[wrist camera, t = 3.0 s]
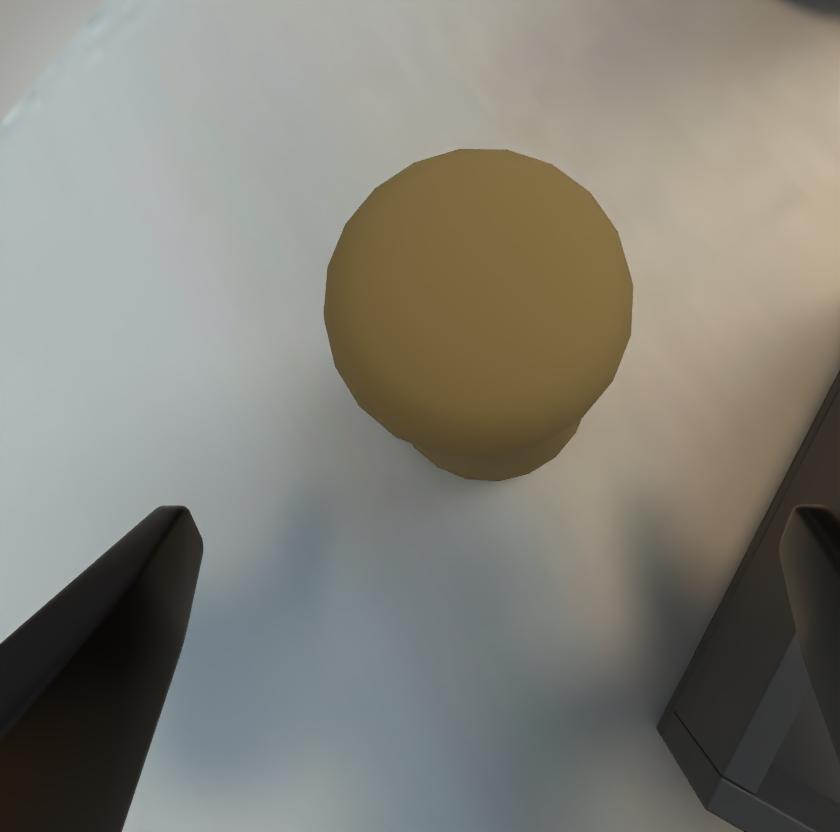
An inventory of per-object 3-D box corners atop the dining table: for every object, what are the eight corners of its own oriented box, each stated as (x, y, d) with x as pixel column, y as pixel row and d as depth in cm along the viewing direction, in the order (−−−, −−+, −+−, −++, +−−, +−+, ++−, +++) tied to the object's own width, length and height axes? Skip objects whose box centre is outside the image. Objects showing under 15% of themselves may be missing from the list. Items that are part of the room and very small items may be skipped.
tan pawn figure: (578, 275, 21) (657, 53, 10) (600, 472, 20) (710, 466, 9) (383, 297, 22) (259, 114, 11) (399, 489, 21) (285, 502, 10)
